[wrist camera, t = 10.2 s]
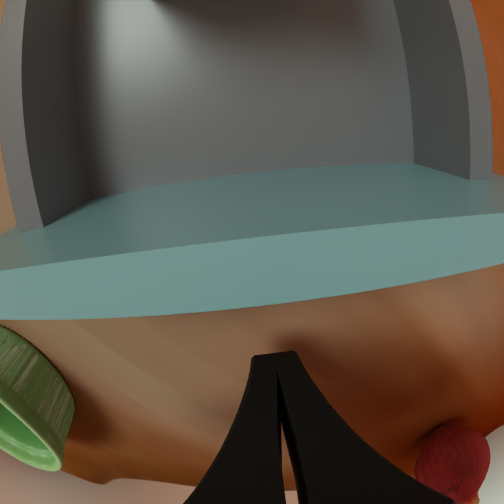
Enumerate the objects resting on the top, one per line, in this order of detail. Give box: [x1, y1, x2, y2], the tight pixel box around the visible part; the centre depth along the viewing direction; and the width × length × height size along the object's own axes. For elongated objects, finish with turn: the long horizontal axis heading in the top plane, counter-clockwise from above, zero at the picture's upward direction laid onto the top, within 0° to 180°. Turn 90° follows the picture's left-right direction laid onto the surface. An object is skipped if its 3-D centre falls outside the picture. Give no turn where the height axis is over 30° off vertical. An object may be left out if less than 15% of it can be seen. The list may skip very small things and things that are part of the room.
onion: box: [415, 426, 490, 504], centre depth 13 cm, size 6×6×8 cm
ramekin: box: [0, 326, 75, 471], centre depth 11 cm, size 9×9×4 cm
